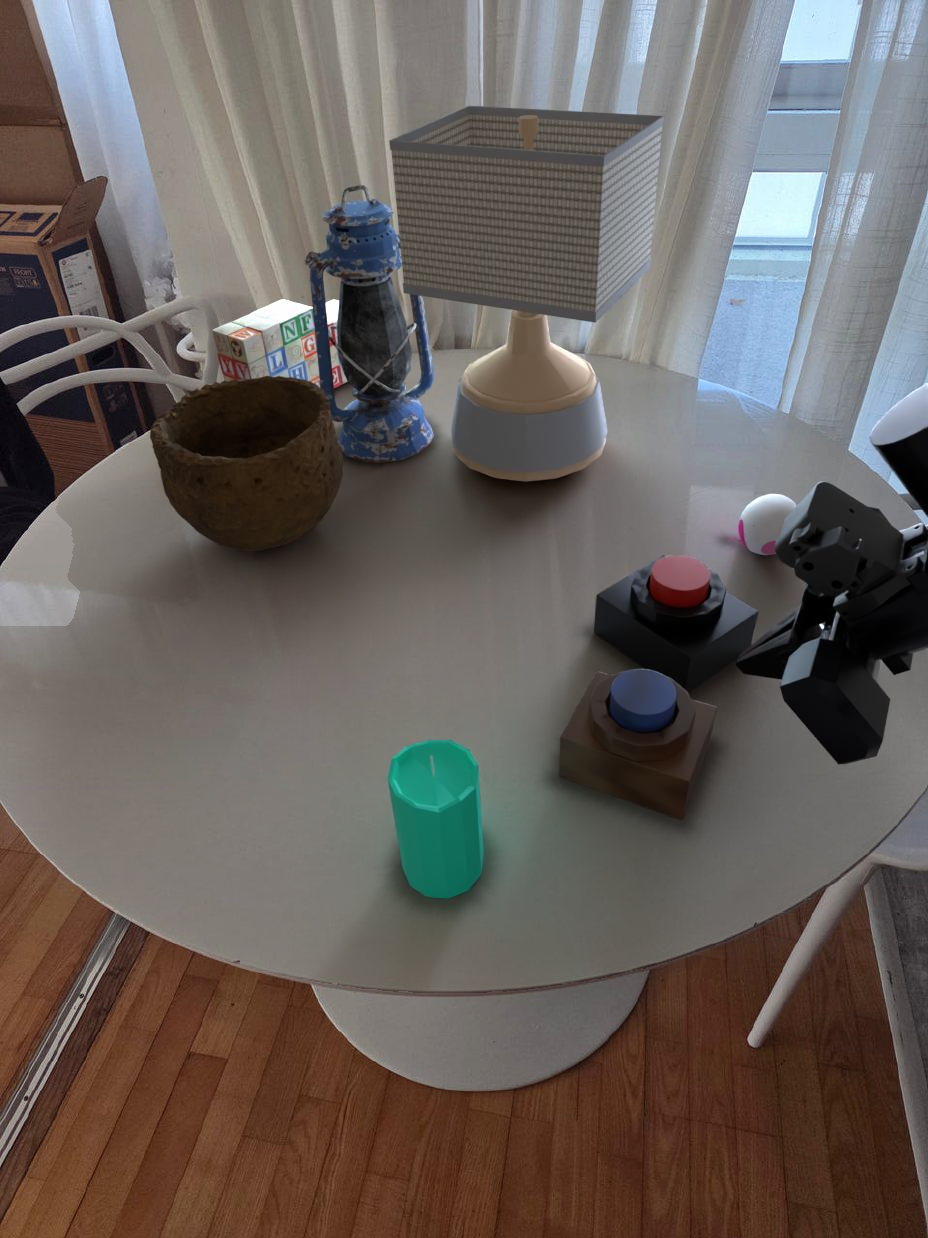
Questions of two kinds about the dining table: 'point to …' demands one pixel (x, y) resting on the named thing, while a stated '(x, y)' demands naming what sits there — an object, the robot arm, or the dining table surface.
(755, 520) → the stress ball
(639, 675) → the blue button
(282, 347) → the stack of blocks
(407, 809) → the candle
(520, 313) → the desk lamp
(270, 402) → the bowl
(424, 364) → the lantern
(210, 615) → the dining table surface
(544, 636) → the dining table surface
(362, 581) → the dining table surface
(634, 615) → the switch box
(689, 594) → the light button
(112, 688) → the dining table surface
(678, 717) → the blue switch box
